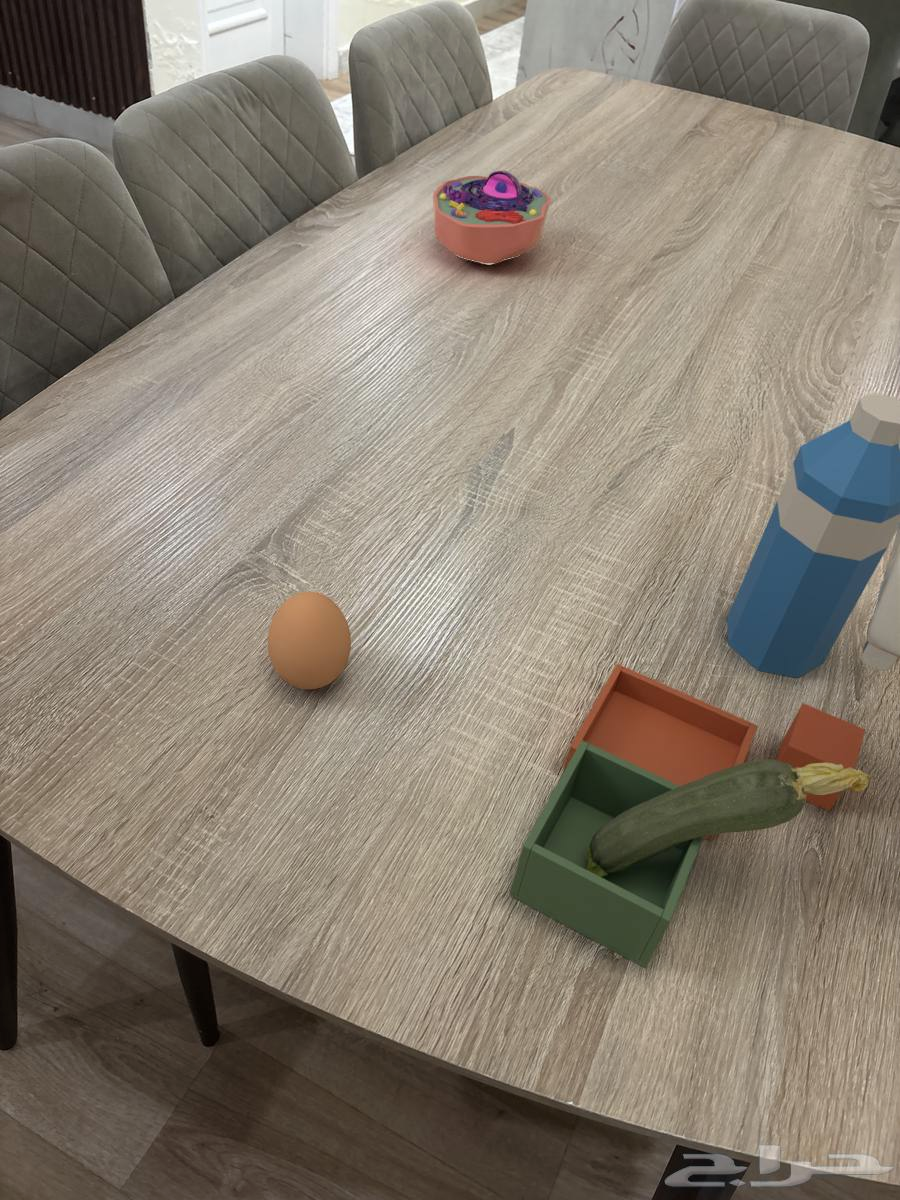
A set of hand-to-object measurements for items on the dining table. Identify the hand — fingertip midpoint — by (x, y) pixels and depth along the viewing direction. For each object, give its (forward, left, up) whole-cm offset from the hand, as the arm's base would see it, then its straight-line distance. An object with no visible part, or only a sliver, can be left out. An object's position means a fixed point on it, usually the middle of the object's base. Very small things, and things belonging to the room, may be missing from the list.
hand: (886, 616), depth 62 cm
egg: (+38, +11, -19) cm, 44 cm away
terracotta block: (-1, -2, -19) cm, 19 cm away
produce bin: (+10, +15, -19) cm, 26 cm away
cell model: (+64, -72, -19) cm, 98 cm away
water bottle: (+5, -16, -19) cm, 25 cm away
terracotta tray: (+10, +3, -19) cm, 22 cm away
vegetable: (+12, +15, -18) cm, 26 cm away
